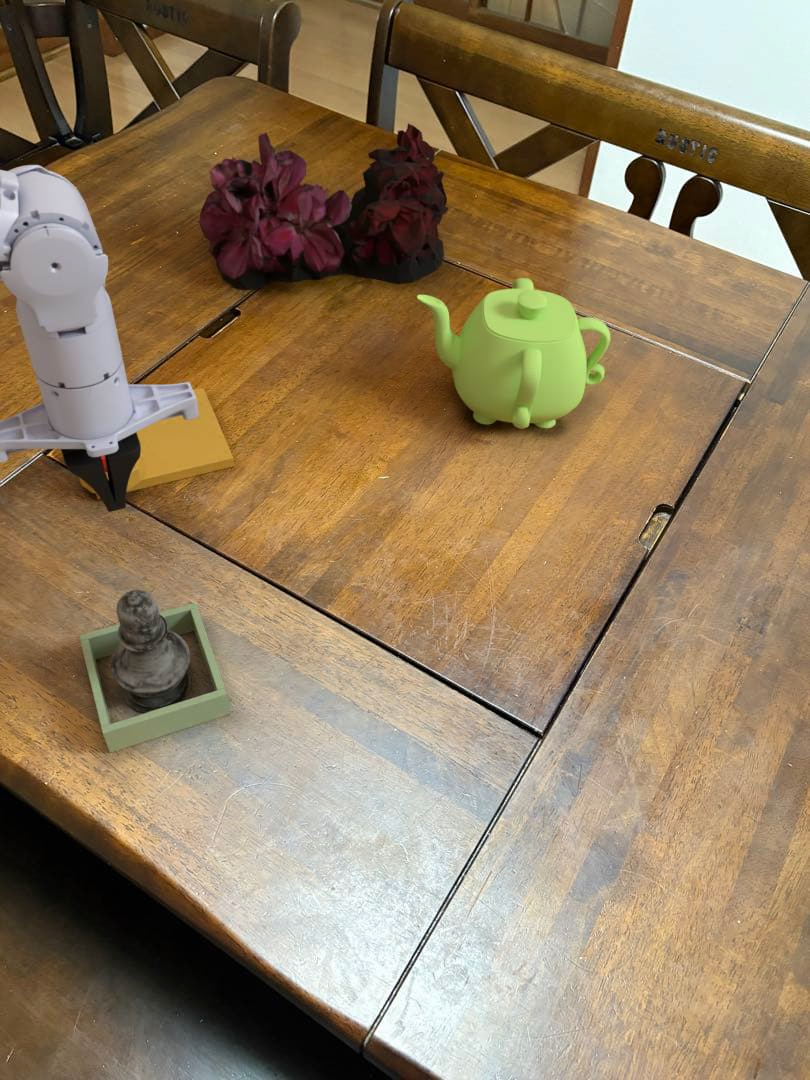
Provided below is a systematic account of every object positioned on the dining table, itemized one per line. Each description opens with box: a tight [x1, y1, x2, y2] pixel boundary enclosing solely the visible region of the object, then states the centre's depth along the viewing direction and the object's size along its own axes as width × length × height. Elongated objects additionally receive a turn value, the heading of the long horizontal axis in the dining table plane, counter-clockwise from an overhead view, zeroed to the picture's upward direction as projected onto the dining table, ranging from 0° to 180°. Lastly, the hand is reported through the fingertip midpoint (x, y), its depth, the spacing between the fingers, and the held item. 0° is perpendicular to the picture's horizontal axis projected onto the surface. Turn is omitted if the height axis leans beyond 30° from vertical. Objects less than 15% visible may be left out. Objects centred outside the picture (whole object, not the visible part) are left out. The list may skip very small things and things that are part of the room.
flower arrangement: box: [198, 123, 450, 291], centre depth 108 cm, size 31×20×15 cm, turn 114°
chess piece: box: [110, 589, 192, 714], centre depth 68 cm, size 6×6×12 cm
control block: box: [78, 387, 235, 500], centre depth 88 cm, size 14×12×3 cm
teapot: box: [416, 277, 611, 430], centre depth 92 cm, size 16×14×13 cm
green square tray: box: [78, 602, 231, 754], centre depth 71 cm, size 9×9×3 cm
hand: (114, 501), depth 71 cm, fingers closed
